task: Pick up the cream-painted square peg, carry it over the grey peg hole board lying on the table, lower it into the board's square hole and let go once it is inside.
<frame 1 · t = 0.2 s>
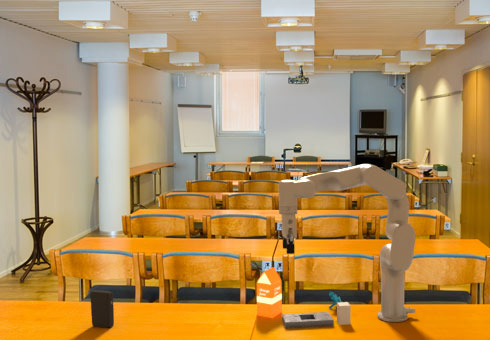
hand: (288, 250, 249), 31 cm above the table, tool pointing down, fingers open, 9 cm apart
orange juice: (269, 314, 264), on the table
teal plastic figure: (337, 309, 269), on the table
card reader: (103, 326, 252), on the table
square peg: (343, 322, 251), on the table
grey peg hole board: (307, 322, 252), on the table
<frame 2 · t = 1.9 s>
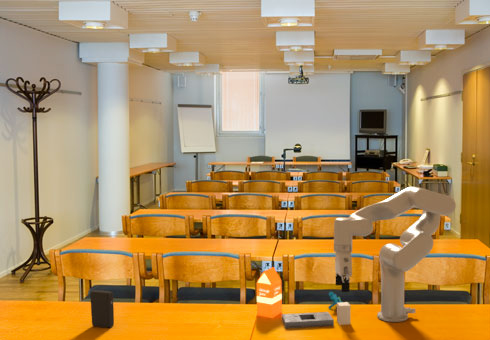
hand: (342, 288, 250), 15 cm above the table, tool pointing down, fingers open, 9 cm apart
nothing on the table moved.
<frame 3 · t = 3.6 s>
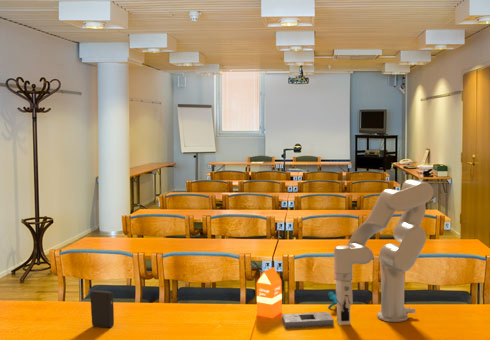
hand: (343, 318, 251), 2 cm above the table, tool pointing down, fingers closed on square peg, 4 cm apart
square peg: (343, 322, 251), on the table, touching gripper
everything else where it was.
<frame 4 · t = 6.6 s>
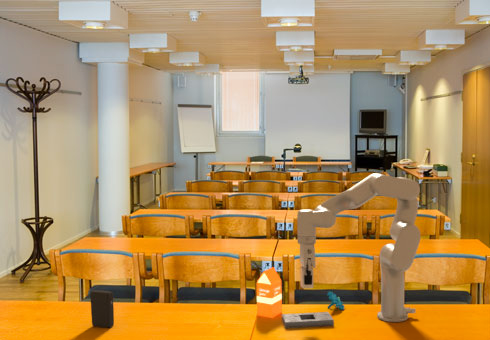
hand: (306, 282, 250), 17 cm above the table, tool pointing down, fingers closed on square peg, 4 cm apart
square peg: (306, 286, 250), point 16 cm above the table, touching gripper
everything else where it was.
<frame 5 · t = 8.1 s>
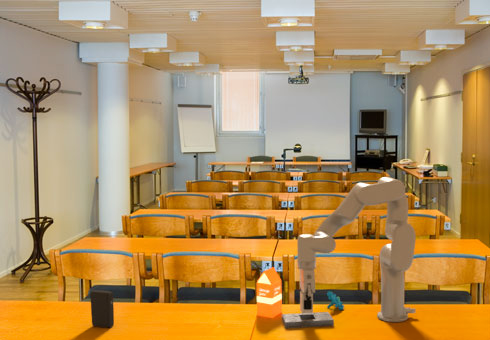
hand: (306, 306, 251), 7 cm above the table, tool pointing down, fingers closed on square peg, 4 cm apart
square peg: (306, 311, 251), point 5 cm above the table, touching gripper
everything else where it was.
when the fingers open (3 cm above the table, at t = 9.5 s): square peg drops 1 cm, resting in grey peg hole board.
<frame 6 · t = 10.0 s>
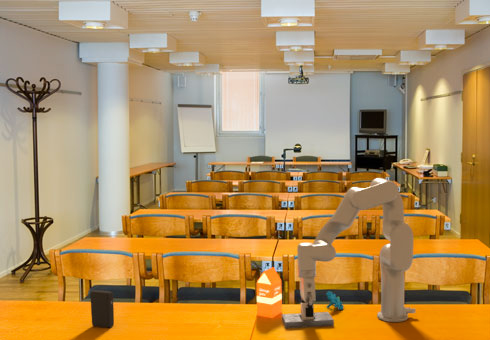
hand: (307, 312, 251), 4 cm above the table, tool pointing down, fingers open, 9 cm apart
square peg: (307, 322, 252), resting in grey peg hole board
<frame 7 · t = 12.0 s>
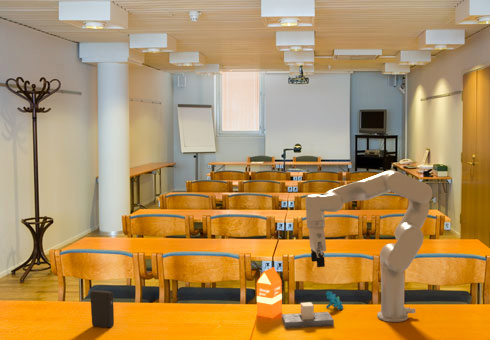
hand: (318, 264, 253), 24 cm above the table, tool pointing down, fingers open, 9 cm apart
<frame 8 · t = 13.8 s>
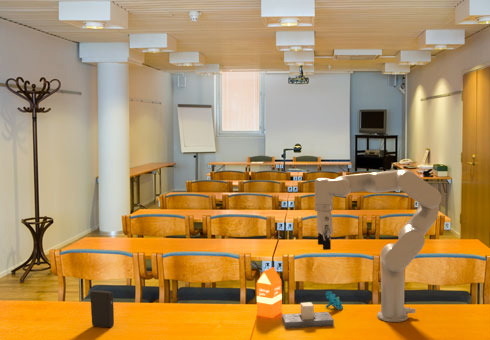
hand: (324, 247, 257), 30 cm above the table, tool pointing down, fingers open, 9 cm apart
at the end: square peg 0.0 cm off-centre on the grey peg hole board, point 0.0 cm above the grey peg hole board's base; square peg tilted 0°; the gripper is holding nothing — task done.
